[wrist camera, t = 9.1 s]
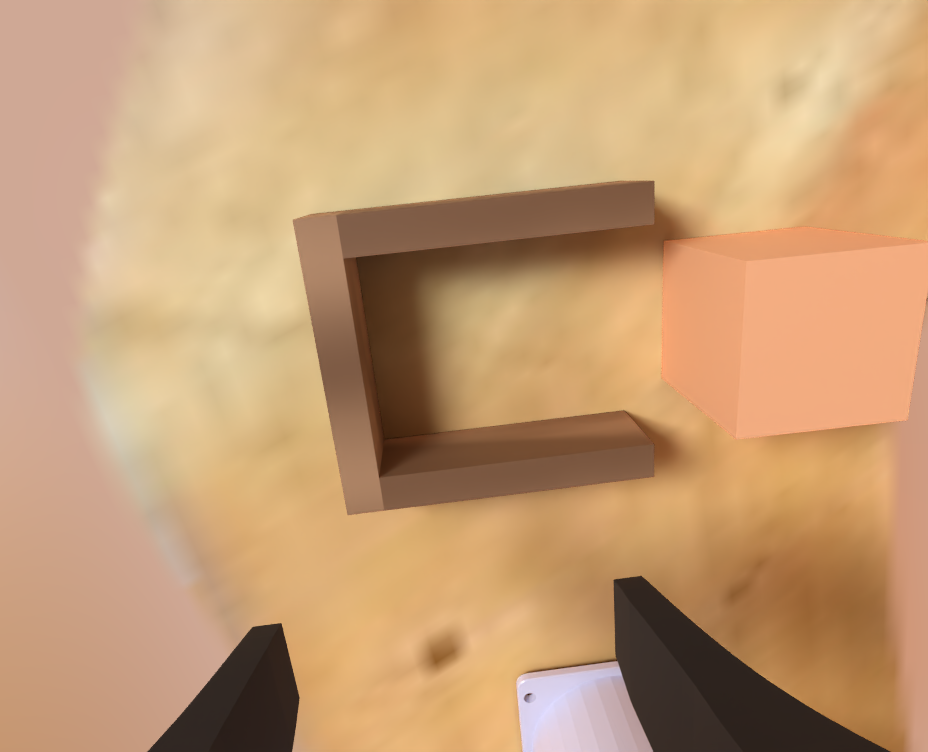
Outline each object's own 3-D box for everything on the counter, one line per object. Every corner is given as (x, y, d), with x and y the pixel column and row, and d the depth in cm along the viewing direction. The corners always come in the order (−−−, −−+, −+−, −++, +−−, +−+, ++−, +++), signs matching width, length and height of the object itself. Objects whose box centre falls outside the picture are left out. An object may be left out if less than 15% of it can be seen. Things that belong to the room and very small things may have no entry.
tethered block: (1025, 338, 22) (1229, 391, 17) (661, 378, 22) (745, 447, 16) (1054, 201, 21) (1291, 209, 15) (663, 240, 20) (756, 263, 15)
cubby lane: (624, 439, 23) (654, 476, 20) (356, 472, 22) (347, 515, 19) (620, 180, 20) (654, 180, 17) (311, 214, 19) (292, 219, 16)
